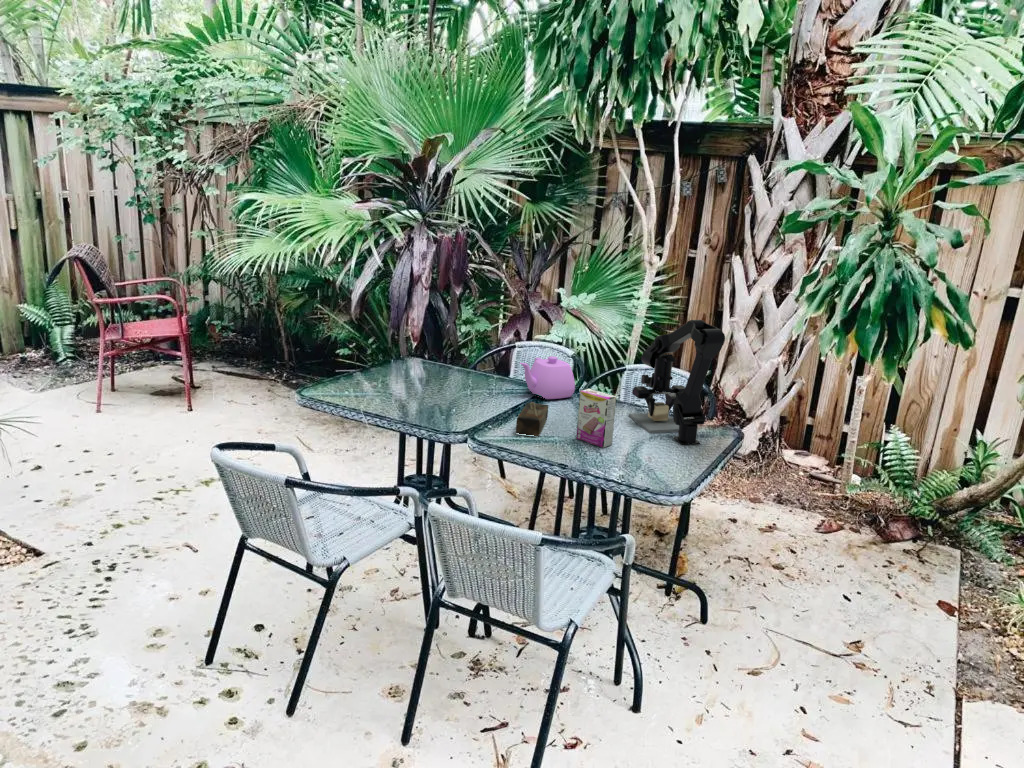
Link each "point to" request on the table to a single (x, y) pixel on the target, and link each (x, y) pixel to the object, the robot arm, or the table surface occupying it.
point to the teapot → (550, 378)
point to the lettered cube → (660, 412)
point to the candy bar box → (596, 417)
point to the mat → (654, 423)
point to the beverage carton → (532, 419)
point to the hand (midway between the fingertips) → (658, 415)
